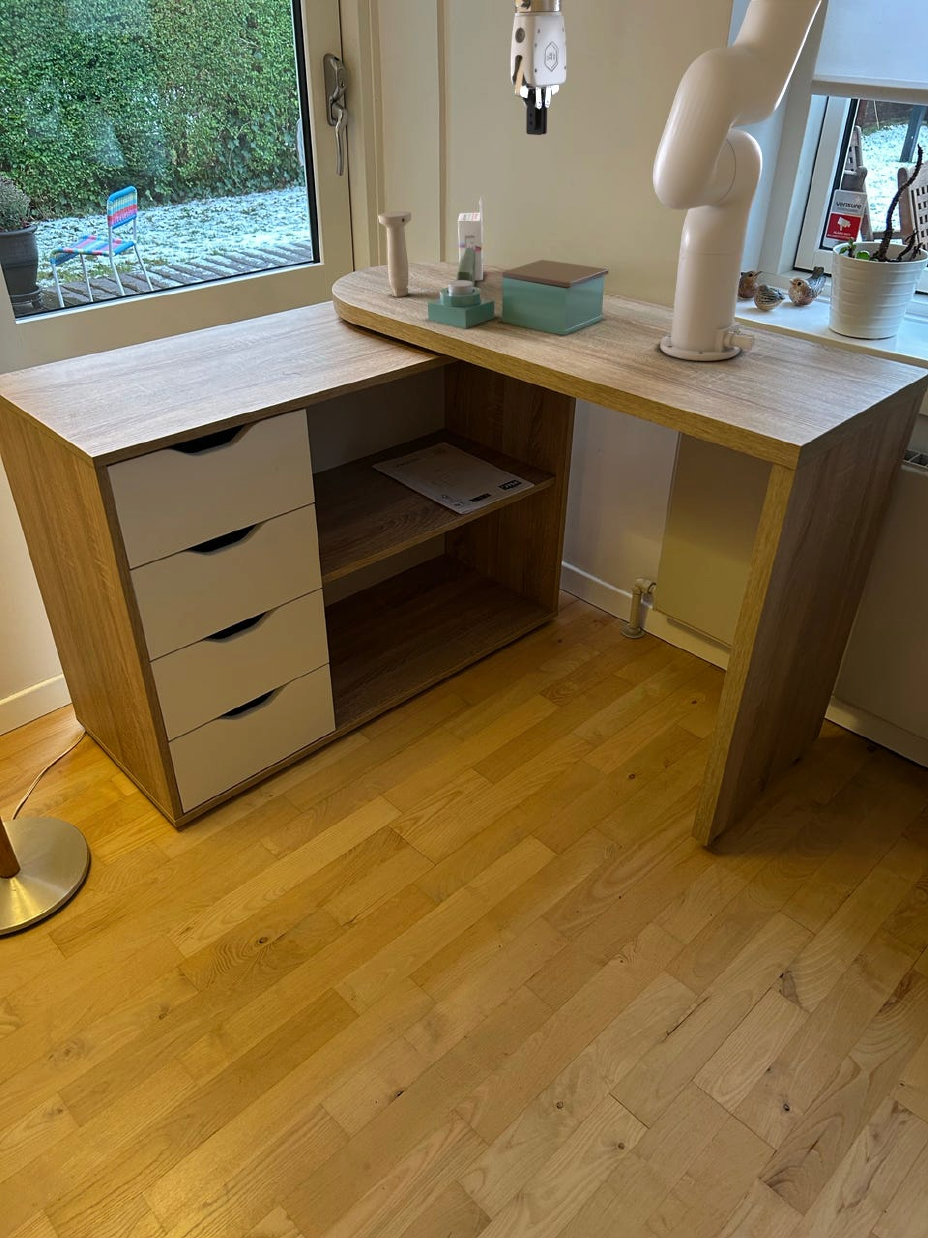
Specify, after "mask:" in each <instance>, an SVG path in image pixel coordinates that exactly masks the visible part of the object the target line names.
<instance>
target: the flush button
mask: <svg viewBox="0 0 928 1238" xmlns="http://www.w3.org/2000/svg"><path fill="white" fill-rule="evenodd" d="M447 288H448V293H449V294H454V295H464V294H470V293H473V282H471V281H466V280H457V279H456V280H451V281H449V282H448V283H447Z"/></svg>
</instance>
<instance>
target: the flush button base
mask: <svg viewBox="0 0 928 1238" xmlns="http://www.w3.org/2000/svg"><path fill="white" fill-rule="evenodd" d="M482 293H483V292H482V289H481V288H479V287H476V286H474V287H473V293H470V294H464V295H454V294H449V293H448V287H445V288H442V289H441V290H440V291H439V298H437V299H434V300H431V301H428V302H427V315H428V317H427V318H428V321H431V322H436V323H440V324H445V325H448V326H452V327H453V326H454V327H456V328H457V327H458V328H462V329H468V328H472V327H473V326H476V325H479V324H482V323H485V322H487V321H491V320H493V319H495V300H494V299H490V298H483V295H482Z"/></svg>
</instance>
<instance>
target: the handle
mask: <svg viewBox="0 0 928 1238" xmlns="http://www.w3.org/2000/svg"><path fill="white" fill-rule="evenodd" d="M377 217H378V221H379V224H381V225H383V226H384V227H386V234H387V235H386V236H387V237H386V238H387V239H386V240H387V272H388V273H387V274H388V280H389V286H390V288H391V289H390V292H391V296H392V297H395V298H400V297H402V298H403V297H406V296H407V295H408V293H409V287H408V286H409V260H408V252H407V243H406V232H405V231H406V228H405V227H406V226H407V224H408V223H410V221H411V220H412V212H411V211H407V210H396V211H388V212H383V213H380V214H378V216H377Z"/></svg>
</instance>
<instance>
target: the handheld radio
mask: <svg viewBox="0 0 928 1238" xmlns="http://www.w3.org/2000/svg"><path fill="white" fill-rule="evenodd" d="M457 280H466V281H471V282H473V287H475V283H476V280H475V250H474V249H473V248H466V249H465V250H464V251H463V254H462V257H461V259H459V263H458V267H457V272H456V281H457Z"/></svg>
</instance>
